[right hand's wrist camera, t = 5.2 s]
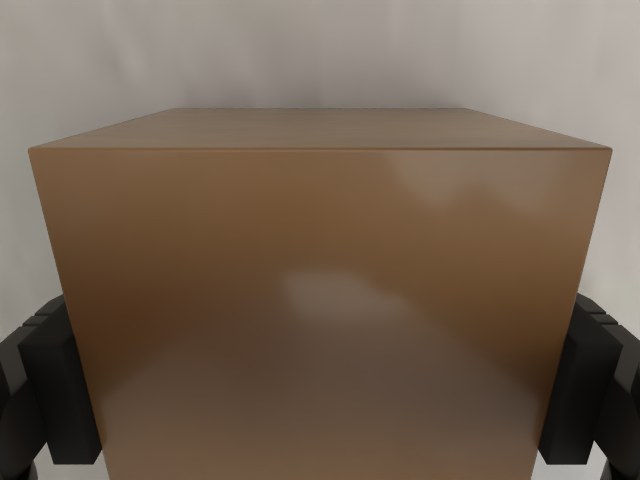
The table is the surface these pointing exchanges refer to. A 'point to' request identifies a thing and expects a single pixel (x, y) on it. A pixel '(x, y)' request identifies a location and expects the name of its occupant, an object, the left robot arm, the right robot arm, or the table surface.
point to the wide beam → (320, 288)
